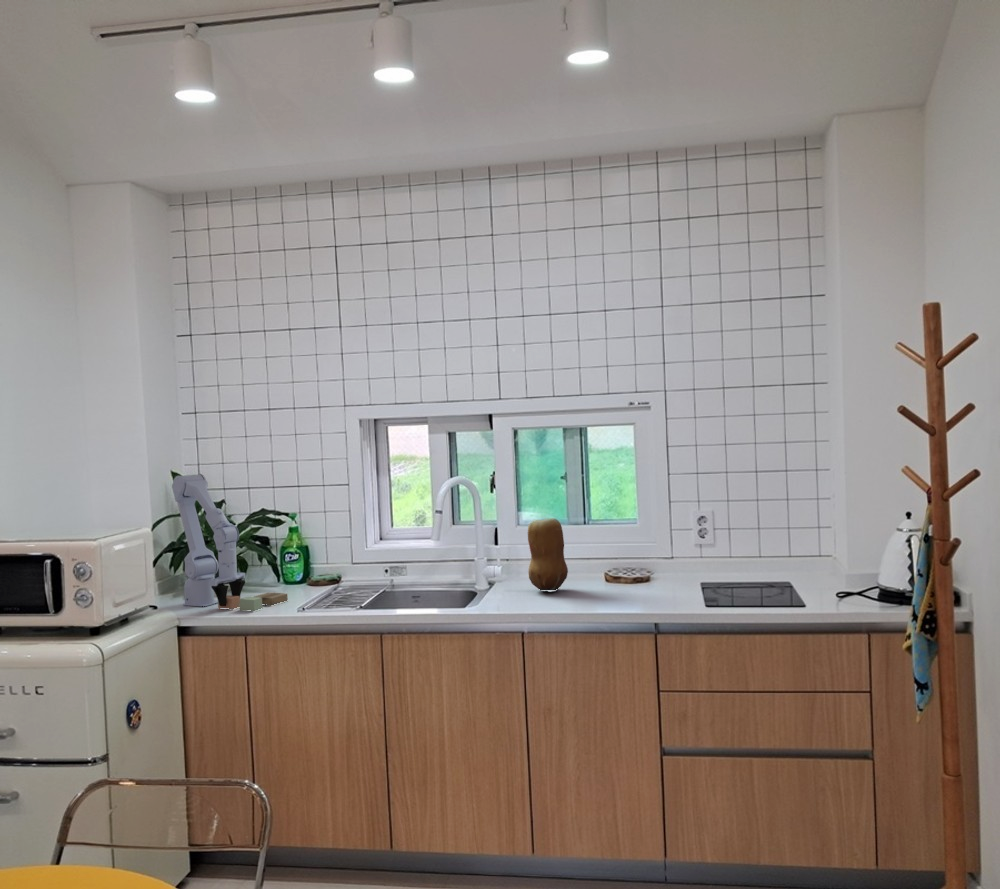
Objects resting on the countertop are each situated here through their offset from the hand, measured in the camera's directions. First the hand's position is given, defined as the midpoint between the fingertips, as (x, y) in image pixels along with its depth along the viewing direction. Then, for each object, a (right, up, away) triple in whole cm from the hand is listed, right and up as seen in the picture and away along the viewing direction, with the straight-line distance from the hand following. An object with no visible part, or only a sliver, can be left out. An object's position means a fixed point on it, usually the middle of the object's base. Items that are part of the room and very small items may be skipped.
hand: (229, 604), depth 314 cm
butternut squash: (+105, +2, +9) cm, 106 cm away
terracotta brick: (0, -2, 0) cm, 2 cm away
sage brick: (+8, -1, -4) cm, 9 cm away
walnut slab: (+12, -1, +7) cm, 14 cm away
